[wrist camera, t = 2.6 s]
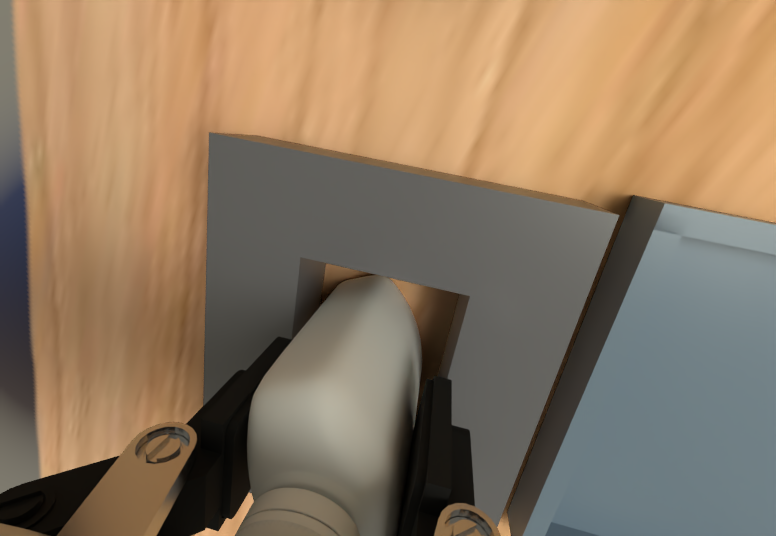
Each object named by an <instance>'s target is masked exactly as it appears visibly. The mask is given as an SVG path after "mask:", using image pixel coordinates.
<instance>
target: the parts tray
mask: <svg viewBox="0 0 776 536" xmlns="http://www.w3.org/2000/svg"><path fill="white" fill-rule="evenodd" d="M507 513H508V520H509V526H510V533H511V536H776V223H773V222H768V221H763V220H758V219H753V218H747V217H742V216H737V215H732V214H727V213H722V212H717V211H712V210H707V209H701V208H696V207H691V206H686V205H681V204H676V203H671V202H666V201H661V200H656V199H650V198H645V197H640V196H635V195H633V197H632V199H631V202H630V205H629V207H628V210H627V212H626V215H625V217H624V220H623V222H622V225H621V227H620V230H619V232H618V235H617V237H616V240H615V242H614V245H613V247H612V250H611V252H610V255H609V257H608V260H607V262H606V265H605V267H604V270H603V273H602V275H601V278H600V280H599V283H598V285H597V288H596V290H595V293H594V295H593V298H592V300H591V303H590V305H589V308H588V310H587V313H586V315H585V318H584V320H583V323H582V325H581V328H580V330H579V333H578V335H577V338H576V340H575V343H574V346H573V348H572V351H571V353H570V356H569V358H568V361H567V363H566V366H565V368H564V371H563V373H562V376H561V378H560V381H559V383H558V386H557V388H556V391H555V393H554V396H553V398H552V401H551V403H550V406H549V408H548V411H547V414H546V416H545V419H544V421H543V424H542V426H541V429H540V431H539V434H538V436H537V439H536V441H535V444H534V446H533V449H532V451H531V454H530V456H529V459H528V461H527V464H526V466H525V469H524V471H523V474H522V476H521V479H520V481H519V484H518V487H517V489H516V492H515V494H514V497H513V499H512V502H511V504H510V507H509V509H508V512H507Z"/></svg>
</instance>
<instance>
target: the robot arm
mask: <svg viewBox="0 0 776 536" xmlns="http://www.w3.org/2000/svg"><path fill="white" fill-rule="evenodd" d="M291 341H292V339H288V338H284V337H280V336H278V337H277V338H276V339H275V340H274V341H273V342H272V343H271V344H270V345H269V346H268V347H267V348H266V349H265V351H264V352H263V353H262V354H261V355H260V356H259V357H258V358H257V359H256V360H255V361H254V362H253V363H252V365H251V366H250V367H249V368H248V369H247V370H239V371H237V372H236V373H235V374H234V375H233V376H232V377H231V378H230V379H229V380H228V381H227V382H226V383H225V384H224V385H223V386H222V387H221V388H220V389H219V391H218V392H217V393H216V394H215V395H214V396H213V397H212V398H211V399H210V400H209V401H208V402H207V403H206V404H205V405H204V406H203V407H202V408H201V409H200V410H199V411H198V412H197V413H196V414H195V415H194V416H193V417H192V418H191V420H190V421H189V422H188V423H187V424H183V423H179V422H167V423H162V424H157V425H155V426H152V427H150V428H147V429H146V430H144V431H143V432H141V433H139V434H138V435H137V436H136V437H135V438H134V439H133V440H132V441H131V442H130V444H129V445H128V446H127V447H126V449H125V450H124V451H123V453H122V454H121V455H120V456H117V457H113V458H110V459H107V460H103V461H100V462H96V463H93V464H89V465H86V466H82V467H79V468H75V469H72V470H69V471H65V472H62V473H58V474H55V475H51V476H48V477H44V478H41V479H38V480H34V481H31V482H27V483H24V484H21V485H19V486H16V487H14V488H11V489H9V490H7V491H5V492H3V493H1V494H0V536H194V535H195V534H196V533H198V532H201V531H203V530H205V528H210V529H213V530H216V531H219V529H220V528H221V526H222V524H223V523H224V521H225V519H226V518H229V519H232V518H233V517H234V516H235V514H236V513H237V511H238V509H239V508H240V506H241V504H242V503H243V501H244V499H245V498H246V496H247V494H248V492H249V491H250V489H251V485H250V480H249V472H248V462H247V432H248V420H249V413H250V407H251V402H252V398H253V395H254V393H255V391H256V389H257V388H258V386H259V384H260V382H261V381H262V379H263V377H264V376H265V374H266V373H267V372H268V370H269V369H270V368H271V367H272V365H273V364H274V363H275V361H276V360H277V359H278V357H279V356H280V355H281V354H282V352H283V351H284V350H285V349H286V347H287V346H288V345H289V344H290V342H291ZM397 536H500V533H499V530H498V528H497V527H496V525H495V524H494V522H493V521H492V519H490V518H489V517H488V516H487V515H486V514H485V513H484V512H483V511H481V510H480V509H478V508H476V507H475V498H474V483H473V468H472V452H471V437H470V431H469V429H465V428H461V427H457V426H454V425H452V380H450V379H446V378H442V377H438V376H434V378H433V380H431V379H426V383H425V386H424V390H423V394H422V398H421V402H420V406H419V410H418V414H417V418H416V422H415V425H414V429H413V435H412V442H411V449H410V457H409V464H408V471H407V478H406V485H405V492H404V499H403V506H402V512H401V518H400V524H399V529H398V533H397Z"/></svg>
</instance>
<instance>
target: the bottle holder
mask: <svg viewBox="0 0 776 536" xmlns="http://www.w3.org/2000/svg"><path fill="white" fill-rule="evenodd" d="M618 217H619V215H618V214H615V213H613V212H610V211H608V210H605V209H603V208H600V207H598V206H595V205H592V204H590V203H587V202H585V201H582V200H577V199H572V198H567V197H562V196H557V195H552V194H547V193H542V192H537V191H532V190H527V189H522V188H517V187H512V186H507V185H502V184H497V183H492V182H487V181H482V180H477V179H472V178H467V177H462V176H457V175H452V174H447V173H442V172H437V171H432V170H427V169H422V168H417V167H412V166H407V165H402V164H397V163H392V162H387V161H382V160H377V159H372V158H367V157H362V156H357V155H352V154H347V153H342V152H337V151H332V150H327V149H322V148H317V147H311V146H306V145H301V144H296V143H291V142H286V141H281V140H276V139H271V138H266V137H261V136H254V135H239V134H224V133H209V167H208V214H207V260H206V306H205V352H204V398H203V406H204V405H205V404H206V403H207V402H208V401H209V400H210V399H211V398H212V397H213V396H214V395H215V394H216V393H217V392H218V391H219V389H220V388H221V387H222V386H223V385H224V384H225V383H226V382H227V381H228V380H229V379H230V378H231V377H232V376H233V375H234V374H235V373H236V372H237V371H239V370H247V369H248V368H249V367H250V366H251V365H252V363H253V362H254V361H255V360H256V359H257V358H258V357H259V356H260V355H261V354H262V353H263V352H264V351H265V349H266V348H267V347H268V346H269V345H270V344H271V343H272V342H273V341H274V340H275V339H276V338H277V337H278V336H280V337H284V338H288V339H292V340H293V339H294V338H295V336H296V335H297V334H298V333H299V332H300V330H301V329H302V328H303V327H304V325H305V324H306V323H307V322H308V321H309V319H310V318H311V317H312V316H313V314H314V313H315V312H316V311H317V310H318V308H319V307H320V302H321V295H322V287H323V280H324V272H325V265H326V263H328V264H332V265H337V266H341V267H345V268H350V269H354V270H358V271H363V272H367V273H371V274H376V275H380V276H385V277H389V278H393V279H398V280H402V281H406V282H411V283H415V284H419V285H424V286H428V287H432V288H437V289H441V290H445V291H450V292H454V293H458V294H459V297H458V301H457V305H456V308H455V312H454V316H453V320H452V323H451V327H450V331H449V335H448V338H447V342H446V346H445V350H444V353H443V357H442V361H441V365H440V368H439V372H438V377H442V378H446V379H450V380H452V425H454V426H457V427H461V428H465V429H469V431H470V437H471V452H472V468H473V483H474V498H475V507H476V508H478V509H480V510H481V511H483V512H484V513H485V514H486V515H487V516H488V517H489V518H490V519H492V521H493V522H494V524H495V525H496V527H497V526H498V524H499V521H500V519H501V516H502V513H503V511H504V508H505V506H506V503H507V501H508V498H509V496H510V493H511V490H512V488H513V485H514V483H515V480H516V478H517V475H518V473H519V470H520V467H521V465H522V462H523V460H524V457H525V455H526V452H527V450H528V447H529V445H530V442H531V439H532V437H533V434H534V432H535V429H536V427H537V424H538V422H539V419H540V416H541V414H542V411H543V409H544V406H545V404H546V401H547V399H548V396H549V393H550V391H551V388H552V386H553V383H554V381H555V378H556V376H557V373H558V371H559V368H560V365H561V363H562V360H563V358H564V355H565V353H566V350H567V348H568V345H569V342H570V340H571V337H572V335H573V332H574V330H575V327H576V325H577V322H578V319H579V317H580V314H581V312H582V309H583V307H584V304H585V302H586V299H587V297H588V294H589V291H590V289H591V286H592V284H593V281H594V279H595V276H596V274H597V271H598V268H599V266H600V263H601V261H602V258H603V256H604V253H605V251H606V248H607V245H608V243H609V240H610V238H611V235H612V233H613V230H614V228H615V225H616V222H617V220H618ZM415 422H416V420H415ZM414 425H415V424H414ZM249 492H250V493H252V491H251V489H250V491H249Z"/></svg>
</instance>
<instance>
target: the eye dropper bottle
mask: <svg viewBox="0 0 776 536" xmlns="http://www.w3.org/2000/svg"><path fill="white" fill-rule="evenodd" d="M421 372H422V346H421V339H420V334H419V330H418V326H417V323H416V320H415V317H414V315H413V313H412V310H411V308H410V306H409V304H408V303H407V301H406V299H405V297H404V296H403V294H402V293H401V291H400V290H399V289H398V287H397V286H396V285H395V284H394V282H393V281H392V280H391V279H389V278H388V277H385V276H380V275H371V276H365V277H360V278H355V279H350V280H346V281H344V282H342V283H340V284H339V285H338V286H337V287H336V288H335V289H334V291H333V292H332V293H331V294H330V295H329V296H328V298H327V299H326V300H325V301H324V302H323V304H322V305H321V306H320V307H319V308H318V310H317V311H316V312H315V313H314V314H313V316H312V317H311V318H310V319H309V321H308V322H307V323H306V324H305V325H304V327H303V328H302V329H301V330H300V332H299V333H298V334H297V335H296V336H295V338H294V339H293V340H292V341H291V342H290V344H289V345H288V346H287V347H286V349H285V350H284V351H283V352H282V354H281V355H280V356H279V357H278V359H277V360H276V361H275V363H274V364H273V365H272V367H271V368H270V369H269V370H268V372H267V373H266V374H265V376H264V377H263V379H262V381H261V382H260V384H259V386H258V388H257V389H256V391H255V393H254V395H253V398H252V402H251V407H250V413H249V420H248V432H247V462H248V472H249V480H250V485H251V491H252V496H253V499H254V503H253V504H252V506H251V508H250V509H249V511H248V513H247V515H246V517H245V518H244V520H243V522H242V524H241V526H240V527H239V529H238V531H237V533H236V534H235V536H397V533H398V529H399V524H400V518H401V512H402V506H403V499H404V492H405V485H406V478H407V471H408V464H409V457H410V449H411V442H412V435H413V429H414V424H415V417H416V409H417V402H418V395H419V387H420V380H421Z"/></svg>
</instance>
